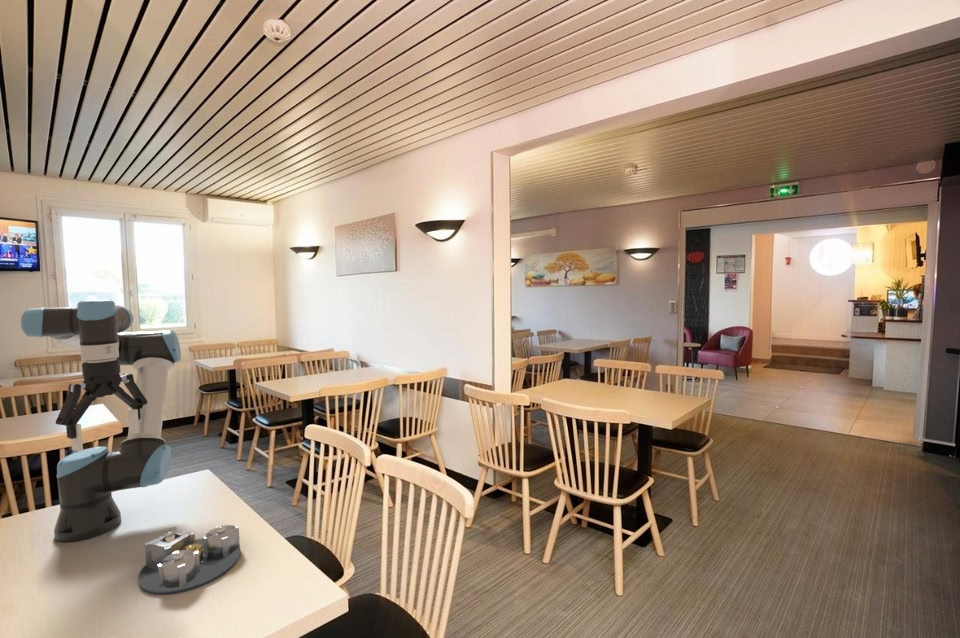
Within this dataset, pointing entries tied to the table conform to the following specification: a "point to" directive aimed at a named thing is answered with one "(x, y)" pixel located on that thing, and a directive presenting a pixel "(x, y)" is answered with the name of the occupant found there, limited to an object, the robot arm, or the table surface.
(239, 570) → the table surface
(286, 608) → the table surface
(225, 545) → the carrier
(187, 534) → the grey square frame
